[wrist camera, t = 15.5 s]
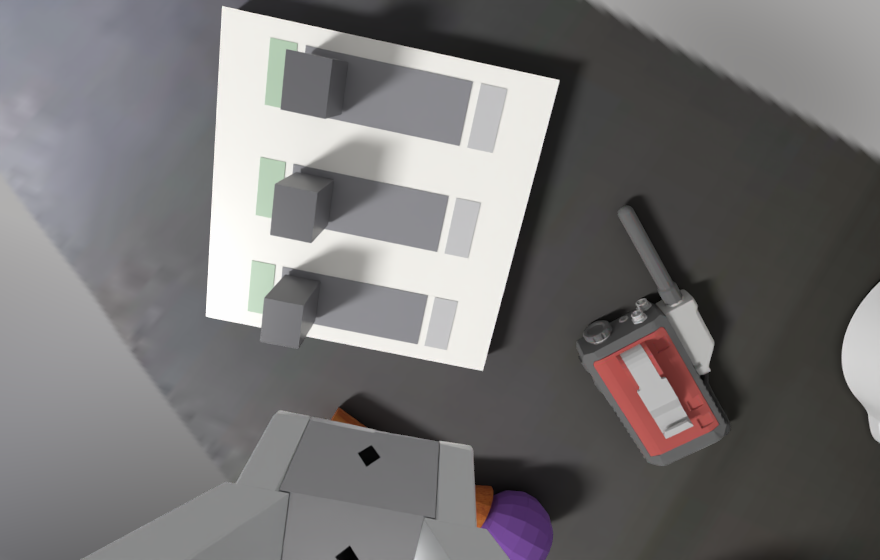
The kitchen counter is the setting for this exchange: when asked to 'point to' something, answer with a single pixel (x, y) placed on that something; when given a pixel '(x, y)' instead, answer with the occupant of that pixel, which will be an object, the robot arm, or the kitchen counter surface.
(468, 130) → the breaker panel
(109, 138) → the kitchen counter surface
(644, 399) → the walkie-talkie
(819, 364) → the kitchen counter surface
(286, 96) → the block
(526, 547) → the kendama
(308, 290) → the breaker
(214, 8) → the kitchen counter surface
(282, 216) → the block
